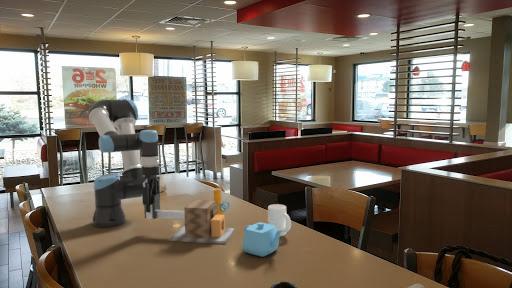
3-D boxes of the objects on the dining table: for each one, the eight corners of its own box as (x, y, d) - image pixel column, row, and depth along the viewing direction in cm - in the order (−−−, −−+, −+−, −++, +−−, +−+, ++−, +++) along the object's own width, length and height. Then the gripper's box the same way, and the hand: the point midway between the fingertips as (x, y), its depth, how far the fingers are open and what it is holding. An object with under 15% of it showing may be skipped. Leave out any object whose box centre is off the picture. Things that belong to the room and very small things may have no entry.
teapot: (274, 263, 135) (274, 233, 134) (235, 252, 146) (235, 223, 145) (292, 252, 145) (292, 223, 144) (254, 242, 156) (254, 215, 155)
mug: (283, 240, 157) (283, 212, 156) (264, 233, 166) (263, 206, 165) (296, 235, 163) (296, 208, 161) (277, 228, 172) (277, 203, 170)
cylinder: (224, 223, 180) (224, 192, 178) (203, 222, 182) (203, 191, 180) (231, 215, 192) (230, 186, 190) (211, 214, 194) (211, 186, 192)
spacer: (211, 236, 160) (211, 219, 159) (216, 230, 167) (216, 214, 166) (220, 237, 159) (220, 220, 158) (225, 231, 166) (224, 214, 166)
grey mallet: (144, 218, 166) (143, 196, 165) (150, 214, 171) (149, 193, 170) (201, 220, 161) (200, 198, 160) (205, 217, 166) (204, 195, 165)
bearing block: (170, 240, 159) (168, 208, 157) (184, 227, 175) (183, 198, 173) (225, 243, 155) (224, 210, 153) (234, 230, 170) (233, 200, 169)
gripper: (148, 169, 156) (151, 224, 158) (166, 162, 173) (168, 211, 176) (131, 169, 157) (134, 223, 160) (151, 161, 175) (153, 210, 177)
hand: (152, 216), depth 168 cm, fingers closed on grey mallet, 5 cm apart
